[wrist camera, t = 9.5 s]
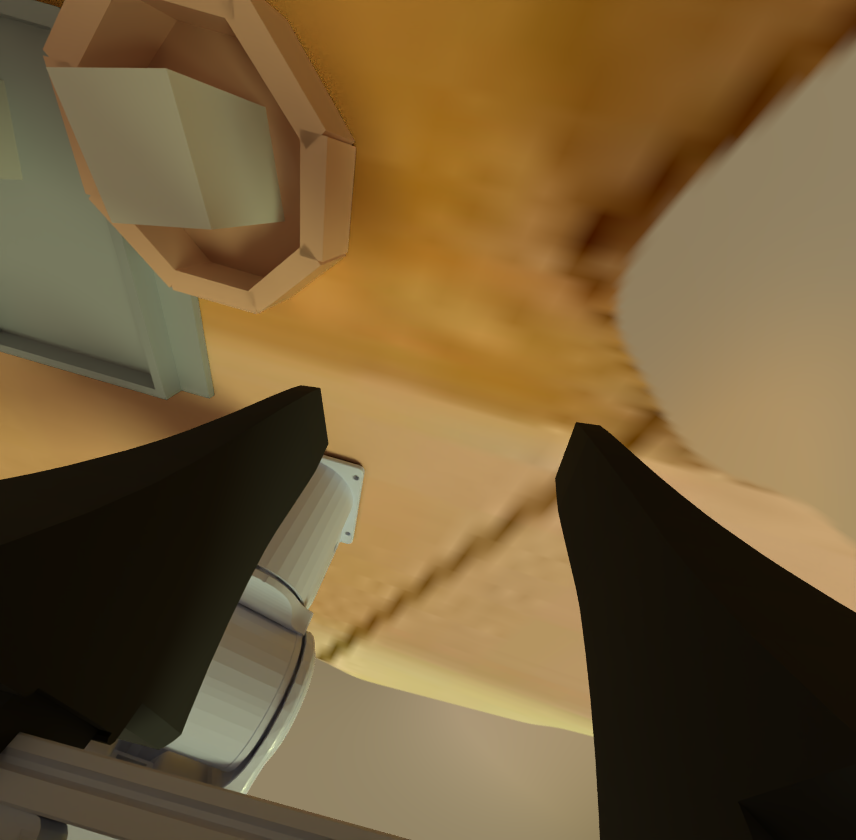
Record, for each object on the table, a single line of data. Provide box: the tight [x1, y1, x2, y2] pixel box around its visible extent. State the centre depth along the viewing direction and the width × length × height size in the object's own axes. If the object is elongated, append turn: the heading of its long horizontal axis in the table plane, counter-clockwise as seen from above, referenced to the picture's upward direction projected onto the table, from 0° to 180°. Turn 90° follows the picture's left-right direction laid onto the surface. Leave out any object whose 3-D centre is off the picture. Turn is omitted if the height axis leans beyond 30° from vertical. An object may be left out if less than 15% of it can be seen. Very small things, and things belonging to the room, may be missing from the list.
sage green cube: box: [46, 67, 285, 230], centre depth 13 cm, size 4×4×5 cm
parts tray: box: [0, 0, 214, 400], centre depth 18 cm, size 17×17×2 cm
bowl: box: [43, 0, 356, 314], centre depth 14 cm, size 11×11×3 cm
